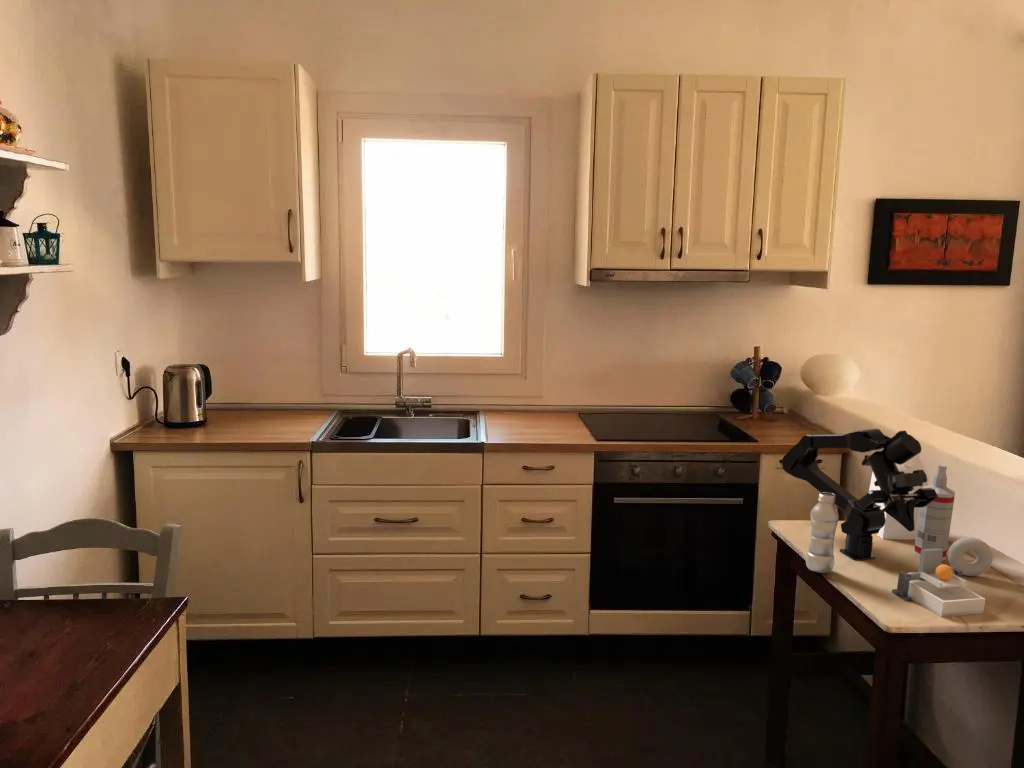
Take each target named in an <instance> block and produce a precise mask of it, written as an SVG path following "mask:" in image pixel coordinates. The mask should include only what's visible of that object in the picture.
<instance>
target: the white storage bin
mask: <svg viewBox="0 0 1024 768" xmlns="http://www.w3.org/2000/svg"><path fill="white" fill-rule="evenodd" d="M908 596H910V597H912V601H914V600H915V602H916V601H917V602H916V603H918V602H919V603H920V604H919V603H918V604H919V605H921V604H922V605H921V606H923V605H924V606H925V607H924V606H923V607H924V608H926V607H927V608H926V609H928V610H929V609H930V611H931V612H933V613H935V614H936V615H938V616H939V617H941V618H945V617H946V618H947V617H956V616H965V615H966V616H968V615H979V614H981V615H982V614H984V611H985V606H986V604H985V603H986V598H985V597H983V596H981V595H980V594H978V593H976V592H974V591H973V590H971V589H968V588H966V586H958V587H945V588H938V587H937V586H935V585H933V584H931V583H930V582H928V581H926V580H917V581H910V582H909V590H908Z"/></svg>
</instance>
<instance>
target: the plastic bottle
mask: <svg viewBox="0 0 1024 768" xmlns="http://www.w3.org/2000/svg"><path fill="white" fill-rule="evenodd" d="M817 501H818V503H817V504H816V505H814V506H813V507H812V508H811V509H810V510H811V511H810V538H809V544H808V551H807V552H806V556H805V565H806V567H807V569H808V570H809V571H812V572H815V573H818V574H829V573H831V572H832V571H833V569H834V566H835V555H834V551H835V550H834V548H835V546H834V543H835V542H834V541H835V536H836V535H835V534H836V530H837V527H838V523H839V519H840V518H839V517H840V516H839V512H838V510H837V508H836V507H835V506H836V505H835V504H834V503H835V495H834V494H832V493H828V492H819V493H818V498H817Z"/></svg>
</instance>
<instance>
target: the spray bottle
mask: <svg viewBox="0 0 1024 768" xmlns="http://www.w3.org/2000/svg"><path fill="white" fill-rule="evenodd" d="M947 467H948V465H947V464H937V465H936V470H935V472H934V475H933V478H932V483H931V485H929V484H928V486H923V488H932V489H934V490H935V492H936V494H937V496H938V498H936V499H935V500H934V501H932V502H931V503H930V504H928V505H927V506H925V507H920V511H919V518H918V526H917V533H916V539H915V542H914V549H913V555H915V556H917V557H918V558H920V555H921V549H932V548H940V549H942V550H943V554H942V561H941V562H943V561H946V559H947V555H948V547H949V546H948V545H949V538H950V531H951V523H952V518H953V511H954V503H955V495H956V492H955V490H953V489H950V488H949V487H948V486H947V483H948V476H947Z"/></svg>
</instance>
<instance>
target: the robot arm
mask: <svg viewBox="0 0 1024 768" xmlns="http://www.w3.org/2000/svg"><path fill="white" fill-rule="evenodd" d="M820 449H847V450H849V451H852V452H857V453H862V454H864V453H870V452H872V454H870V455H867V454H865V455H864V458H863V460H862V461H861V465H862V466H867V467H870V469H871V470H872V472H873V473H874V475H875V478H876V481H875V482H874V484H875V486H879V487H880V489H881V490H870V491H869V490H868V491H867V492H865V494H864V495H862V496H861V497H860V498H857V497H856V496H854V495H853V494H852V493H850V492H849V491H848V490H847V489H845V488H844V487H843V486H842V485H840V484H839V483H837V482H836V480H834V479H832V478H831V477H830V476H829V475H827V474H826V473H825V472H823V471H822V470H821V469H820V467H819V465H818V462H817V459H818V457H819V454H820V453H819V452H820ZM921 452H922V445H921V443H920V442H919V440H918V439H917V438H915V437H914V436H912V435H911V434H909V433H908V432H907V430H900V431H899V430H898V432H896V433H895V434H894V435H893V436H892V437H889V436H887V435H885V434H884V433H883V432H882V431H881V429H880V428H879V429H878V428H869V429H860V430H856V431H852V432H848V433H831V434H830V433H829V434H826V433H825V434H818V433H811V434H804V435H803V436H802V437H801V438H800V440H799V441H798V442H797V443H796V444H794V446H793V447H792V448H790V449H789V450H788V452H787V453H786V454H785V455H783V457H782V461H781V465H782V470H783V471H784V472H785V473H786V474H788V475H790V476H792V477H794V478H796V479H799V480H803V481H805V482H807V483H808V484H810V486H812V487H813V488H815V489H816V490H817V491H818V492H819V493H820V492H828V493H832V494H834V495H835V503H833V505H834V506H836V507H837V508H839V509H840V510H841V511H843V513H844V516H845V519H846V520H844V522H842V523H840V528H841V532H842V533H843V534H846V538H845V547H844V548H840V549H839V552H841V553H842V554H844V555H846V556H847V557H848V558H850V559H852V560H854V561H859V560H875V559H876V556H875V555H873V554H872V552H873V551H872V550H873V537H874V535H876V534H877V533H878V532H879V531H880V529H881V528H882V527H883V526H884V525H885V513H884V512H886V513H887V514H889V515H890V516H891V517H893V518H894V519H895V520H897V521H898V522H899V523H900V524H901V525H902V526H904V527H905V528H906V529H907V530H908V531H914V508H919V507H925V506H927V505H928V504H930V503H931V502H932V501H934V500H935V499H936V498H938V496H937V494H936V492H935V490H934V489H932V488H919V489H918V490H917V491H915V492H914V493H913V494H909V493H908V492H909V491H912V490H913V489H914V488H913V487H915V486H923V483H925V482H927V476H926V474H925V472H924V471H923V470H917V471H913V473H904V472H903V471H901V472H899V470H898V468H897V466H896V464H900V465H902V464H904V463H905V462H907V461H908V460H910V459H911V458H913V457H914V456H916V455H917V454H918V455H919V454H920V453H921ZM875 503H884V506H885V508H884V509H882V510H881V509H880V508H881V506H879V505H877V504H875ZM872 535H873V536H872Z"/></svg>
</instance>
